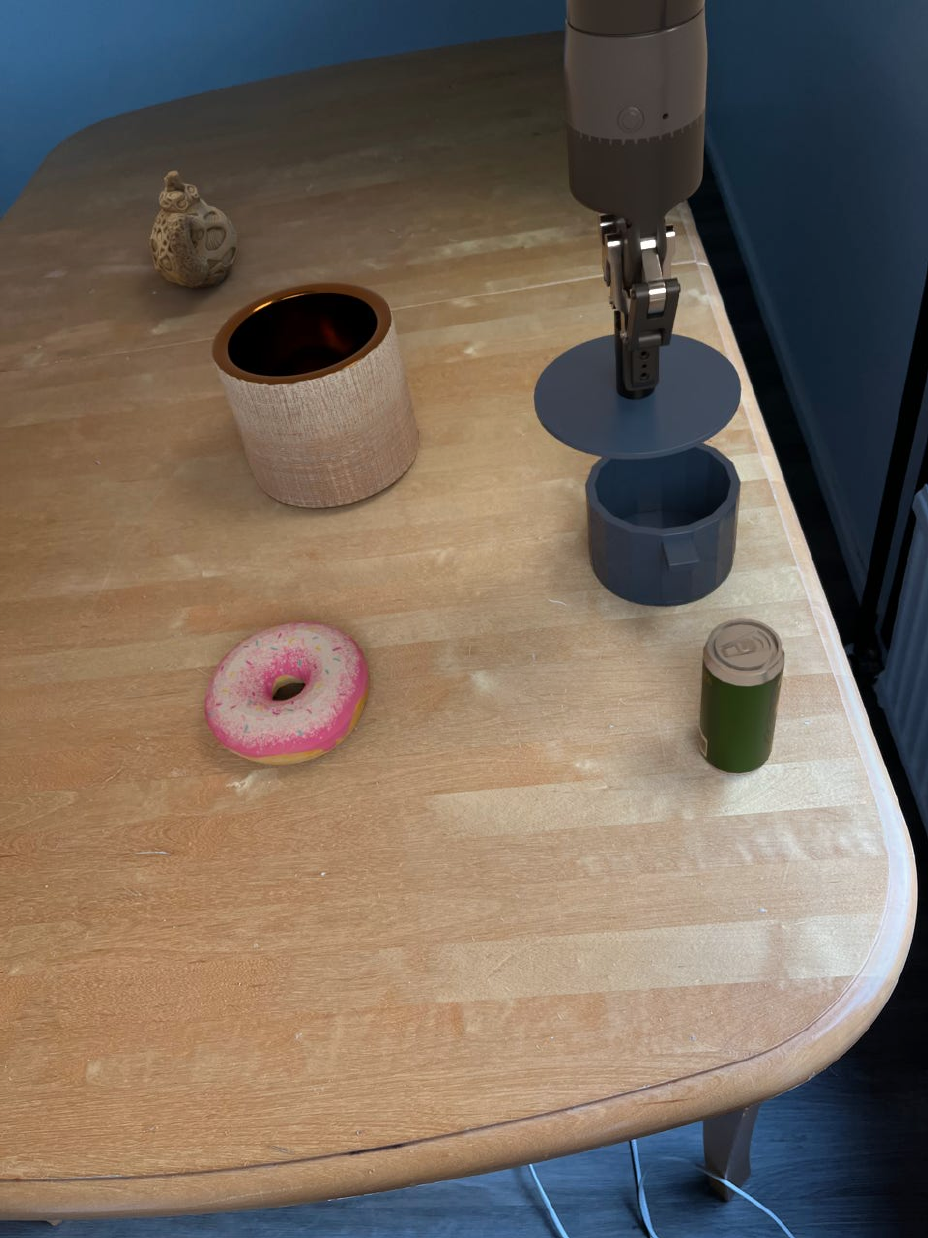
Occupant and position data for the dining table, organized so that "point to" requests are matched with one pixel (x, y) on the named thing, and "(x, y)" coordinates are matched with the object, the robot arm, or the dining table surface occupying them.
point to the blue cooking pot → (663, 525)
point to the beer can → (739, 695)
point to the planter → (318, 393)
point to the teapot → (191, 237)
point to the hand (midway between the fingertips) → (636, 371)
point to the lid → (636, 399)
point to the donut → (297, 723)
